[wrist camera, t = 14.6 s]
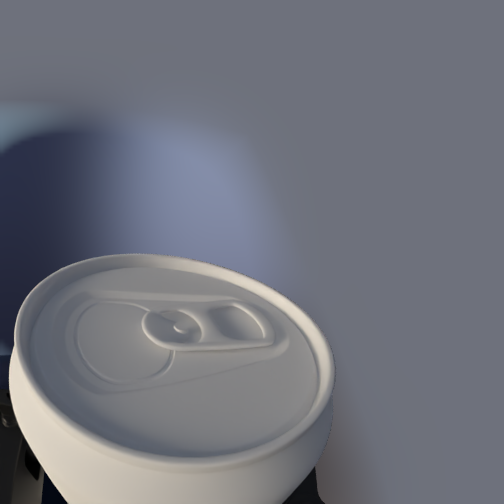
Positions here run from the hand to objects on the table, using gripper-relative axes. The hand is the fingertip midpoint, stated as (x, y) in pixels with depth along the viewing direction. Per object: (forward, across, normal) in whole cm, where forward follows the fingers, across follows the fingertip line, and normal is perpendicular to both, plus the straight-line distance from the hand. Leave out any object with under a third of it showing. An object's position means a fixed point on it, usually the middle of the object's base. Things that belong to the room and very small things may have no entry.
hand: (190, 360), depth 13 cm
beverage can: (-5, 0, -7) cm, 8 cm away
